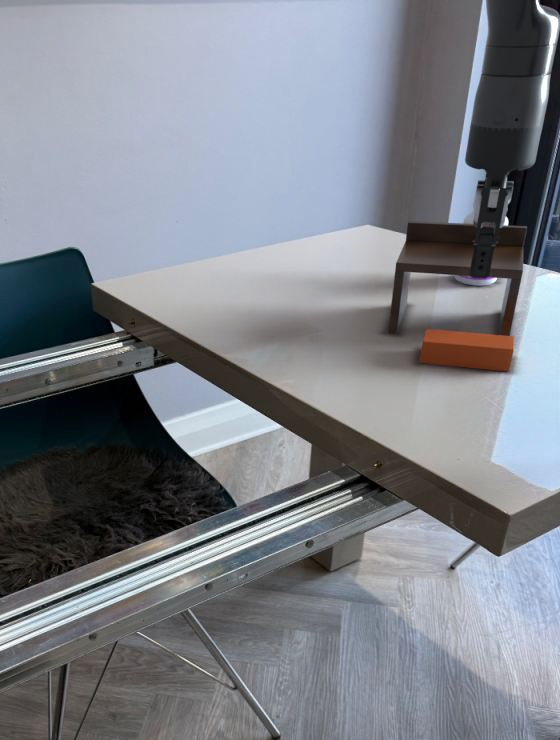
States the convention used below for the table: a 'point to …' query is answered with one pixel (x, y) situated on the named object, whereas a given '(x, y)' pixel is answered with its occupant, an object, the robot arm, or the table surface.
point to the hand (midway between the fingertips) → (480, 266)
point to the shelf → (456, 262)
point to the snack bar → (467, 350)
